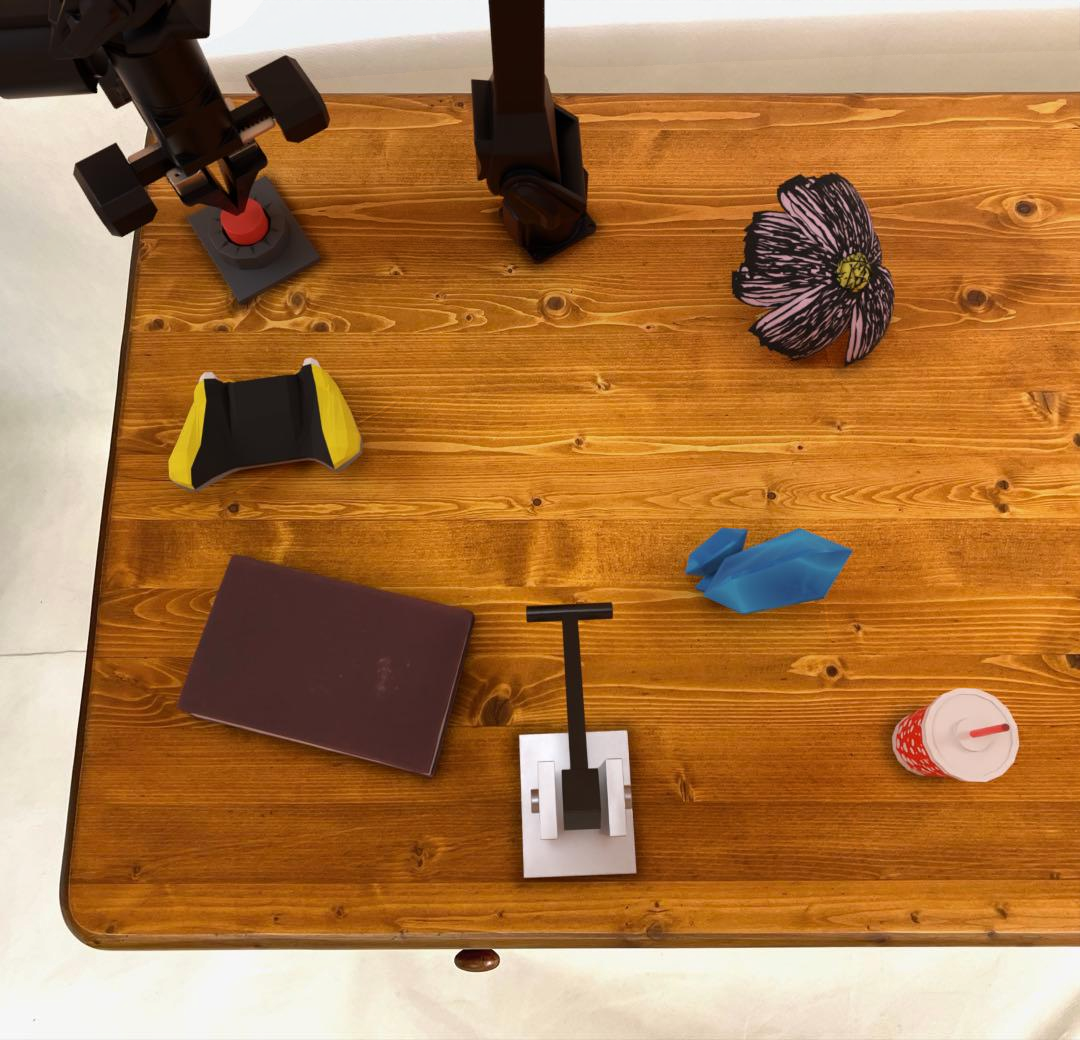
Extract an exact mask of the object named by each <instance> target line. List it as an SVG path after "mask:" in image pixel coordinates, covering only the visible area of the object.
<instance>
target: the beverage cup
mask: <svg viewBox="0 0 1080 1040" xmlns="http://www.w3.org/2000/svg"><path fill="white" fill-rule="evenodd" d="M891 743H892V751H893V753H894V755H895V757H896V759H897V761H898V763H900V764H901V765H902V766H903V768H905V770H907V771H909V772H911V773H913V774H915V775H918V776H924V777H925V776H926V777H942V778H943V777H945V778H954V779H955V780H956V779H957V780H959V781H961V782H968V783H969V782H970V783H971V782H972V783H973V782H974V783H975V782H976V783H987V782H989V781H992V780H994V779H996V778H1000V777H1001V776H1003V775H1004V774H1005V773H1006V772H1007V771H1008V770H1009V768H1010V767H1011V766H1012V765H1013V764H1014V763H1015V761H1016V757H1017V754H1018V750H1019V747H1020V739H1019V730H1018V725H1017V723H1016V722H1015V719H1014V717H1013V716H1012V713H1011V711H1010V710H1009V708H1008V707H1007V706H1006V705H1005V704H1003V703H1002V702H1001V700H999V699H998V698H997V697H996V696H995V695H993V694H992V693H991V694H990V693H988V692H986V691H983V690H982V689H979V688H972V687H971V688H969V687H957V688H955V689H953V690H950V691H947V692H945V693H942V694H940V695H938V696H937V697H936V698H935V699H934V700H933V702H931V703H930V704H928V705H926V706H923V708H920V709H919V710H917V711H914V712H912V713H910V714H909V715H906V716H904V717H903V718H902V719H901V720H900V721H899V722H898V723H897V724H896V725H895V727H894V730H893V733H892V736H891Z"/></svg>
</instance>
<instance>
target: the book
mask: <svg viewBox="0 0 1080 1040" xmlns="http://www.w3.org/2000/svg"><path fill="white" fill-rule="evenodd" d="M475 621H476V617H475V613H474V611H472V610H468V609H466V608H461V607H458V606H454V605H449V604H444V603H441V602H437V601H433V600H428V599H424V598H419V597H415V596H410V595H406V594H401V593H396V592H392V591H388V590H384V589H380V588H376V587H371V586H368V585H363V584H359V583H354V582H351V581H348V580H347V581H346V580H343V579H339V578H335V577H329V576H326V575H320V574H318V573H313V572H309V571H306V570H301V569H296V568H293V567H289V566H285V565H281V564H277V563H273V562H269V561H265V560H260V559H257V558H253V557H249V556H245V555H241V554H235V553H234V554H233V555H231V557H230V559H229V561H228V564H227V566H226V569H225V572H224V575H223V577H222V579H221V582H220V585H219V587H218V590H217V592H216V594H215V599H214V601H213V604H212V606H211V609H210V611H209V614H208V617H207V619H206V622H205V625H204V628H203V630H202V633H201V636H200V639H199V641H198V643H197V646H196V649H195V651H194V655H193V657H192V660H191V663H190V666H189V668H188V672H187V674H186V677H185V678H186V679H185V680H184V683H183V686H182V689H181V692H180V694H179V697H178V701H177V704H176V706H175V707H176V709H178V710H180V711H181V712H184V713H187V714H188V715H189V716H190V717H193V718H196V719H199V720H202V721H207V722H211V723H215V724H220V725H225V726H227V727H232V728H236V729H240V730H244V731H248V732H252V733H255V734H259V735H263V736H268V737H271V738H277V739H279V740H284V741H288V742H292V743H296V744H301V745H304V746H305V745H306V746H309V747H312V748H316V749H320V750H322V751H323V750H324V751H328V752H331V753H336V754H340V755H344V756H348V757H352V758H355V759H358V760H359V759H360V760H363V761H366V762H367V761H368V762H372V763H375V764H379V765H383V766H387V767H390V768H395V769H398V770H402V771H406V772H409V773H413V774H417V775H419V776H423V777H427V778H434V776H435V772H436V770H437V767H438V762H439V760H440V756H441V752H442V749H443V743H444V741H445V736H446V734H447V729H448V725H449V722H450V718H451V714H452V711H453V707H454V703H455V699H456V696H457V691H458V687H459V685H460V681H461V676H462V673H463V670H464V666H465V662H466V657H467V654H468V653H467V652H468V649H469V645H470V641H471V638H472V637H471V636H472V633H473V629H474V626H475Z"/></svg>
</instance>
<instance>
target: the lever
mask: <svg viewBox="0 0 1080 1040" xmlns="http://www.w3.org/2000/svg"><path fill="white" fill-rule="evenodd" d="M525 617H526V618H525V619H526V623H527V624H530V623H531V624H532V623H554V622H556V623H557V622H561V629H562V630H561V631H562V649H563V650H562V651H563V666H564V667H563V669H564V684H565V686H564V687H565V703H566V722H567V723H566V724H567V733H568V741H569V759H570V769H562V798H563V819H564V830H589V829H600V828H601V800H600V787H599V774H598V768H588V755H587V741H586V732H587V729H586V714H585V713H586V712H585V701H584V699H585V697H584V684H583V670H582V669H583V668H582V657H581V656H582V655H581V642H580V627H579V622H581V621H582V622H583V621H602V620H603V621H604V620H613V619H614V607H613V602H612V601H599V602H578V603H577V602H576V603H553V604H530V605H528V604H527V605H526V606H525Z"/></svg>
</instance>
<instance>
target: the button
mask: <svg viewBox="0 0 1080 1040" xmlns="http://www.w3.org/2000/svg"><path fill="white" fill-rule="evenodd" d="M221 223H222V225H223V227H224V229H225V231H226V233H227V234H228V236H229V238H230V239H231V240H232V241H233V242H235V243H237V244H240V245H252V244H255V243H257V242H259V241H260V240H261V239H262V238H263V237H264V236H265V235H266V233H267V230H268V220H267V218H266V216H265V214H264V212H263V210H262V208H261V206H260V205H259V203H257V202H256V201H255V200H253V199H250V198H248V201H247V205H246V209H245V212H244V213H242V214H240V215H238V216H235V215H232V214H230V213H228V212H226V211H224V210H222V213H221Z"/></svg>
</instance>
